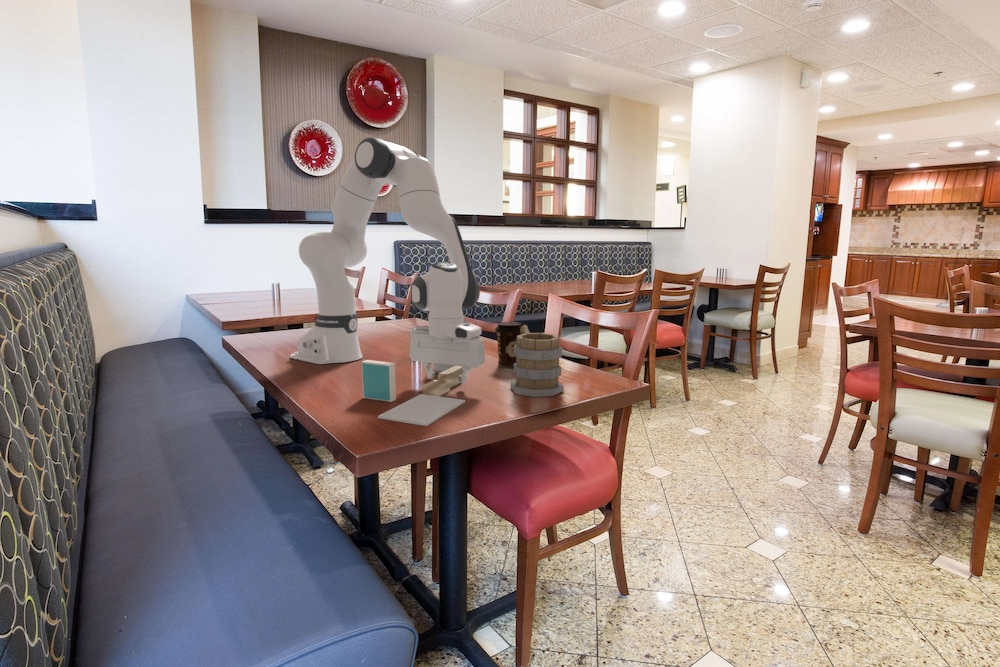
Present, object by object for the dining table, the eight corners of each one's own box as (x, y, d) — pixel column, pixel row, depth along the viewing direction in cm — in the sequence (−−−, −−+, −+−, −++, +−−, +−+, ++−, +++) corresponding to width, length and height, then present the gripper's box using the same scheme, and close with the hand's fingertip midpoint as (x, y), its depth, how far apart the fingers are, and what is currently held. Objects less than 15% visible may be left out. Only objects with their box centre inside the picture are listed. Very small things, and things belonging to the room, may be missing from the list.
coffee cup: (528, 364, 168) (529, 322, 165) (515, 370, 161) (515, 326, 158) (503, 361, 172) (504, 320, 170) (489, 366, 165) (489, 323, 163)
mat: (377, 418, 119) (377, 416, 118) (421, 395, 135) (421, 393, 135) (426, 426, 114) (426, 423, 114) (465, 402, 130) (465, 400, 130)
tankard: (568, 396, 136) (570, 336, 134) (518, 398, 134) (519, 337, 131) (545, 375, 156) (547, 323, 153) (501, 377, 153) (502, 324, 150)
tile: (362, 398, 133) (361, 361, 131) (368, 395, 135) (366, 359, 133) (390, 402, 130) (389, 365, 128) (395, 399, 132) (394, 363, 130)
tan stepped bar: (422, 395, 136) (422, 379, 135) (452, 379, 150) (452, 365, 150) (438, 397, 134) (438, 381, 133) (467, 381, 149) (467, 366, 148)
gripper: (404, 326, 141) (405, 379, 143) (476, 332, 133) (476, 388, 135) (416, 323, 146) (417, 373, 149) (487, 328, 139) (487, 381, 141)
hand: (446, 380), depth 142 cm, fingers open, 8 cm apart
